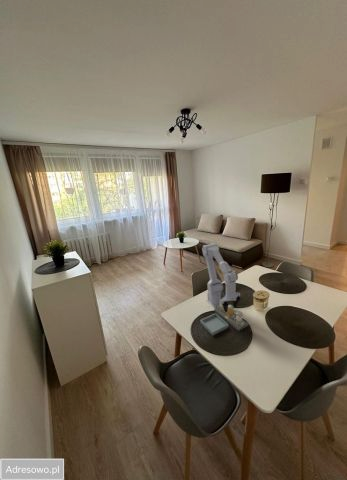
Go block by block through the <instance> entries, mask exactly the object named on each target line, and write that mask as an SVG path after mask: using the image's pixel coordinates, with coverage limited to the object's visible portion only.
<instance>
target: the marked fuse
mask: <svg viewBox="0 0 347 480" xmlns="http://www.w3.org/2000/svg"><path fill="white" fill-rule="evenodd" d="M233 312H234V306H233V304H229V305H228V311H227V316H228V317H231V316H232V315H233Z"/></svg>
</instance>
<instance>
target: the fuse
mask: <svg viewBox="0 0 347 480" xmlns="http://www.w3.org/2000/svg"><path fill="white" fill-rule="evenodd" d="M235 312H236V313H235V314H236V323H237V324H238V325H241V323H242V319H243V312H242V311H239V310H237V311H235Z"/></svg>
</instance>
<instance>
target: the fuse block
mask: <svg viewBox="0 0 347 480" xmlns="http://www.w3.org/2000/svg"><path fill="white" fill-rule="evenodd" d="M213 308H214V309H213V311H214V312H215V313H216V314H217V315H218V316H220V317H221V318H222V319H223V320H224V321H225V322H226V323H228V324H230V326H232V327H233V328H234V329H235V330H237V332H239V331H241V330H243V329H245V328H247V327H249V323H248V322H247V321H245V320H244V318H242V323H241V325H238V324H237V323H236V313H235V312H234V311H233V315H232V316H231V317H228V316H227V312H225V311H224V309H223V311H221V310H220V305H218V306H217V307H213Z"/></svg>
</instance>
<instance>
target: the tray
mask: <svg viewBox="0 0 347 480" xmlns="http://www.w3.org/2000/svg"><path fill="white" fill-rule="evenodd" d="M199 322H200V325H201V326H202V327H203V328H205V330H206V331H207V332H208V333H209V334H210V335H211V336H212V337H213V336H215V335H217V334H219V333H221V332H223V331H225V330H227V329H229V324H230V323H228V322H227V321H226V320H225V319H224V318H223V317H221V316H220V315H219V314H218V313H217V312H215V313H212V314H211V315H210V314H209V316H206V317H204V318H202V319H200V320H199Z"/></svg>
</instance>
